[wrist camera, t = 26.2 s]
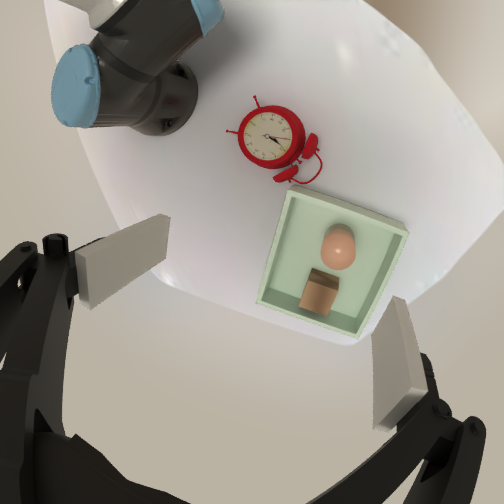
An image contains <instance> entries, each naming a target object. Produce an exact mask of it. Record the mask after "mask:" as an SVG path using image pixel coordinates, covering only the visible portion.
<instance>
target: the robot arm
mask: <svg viewBox="0 0 504 504" xmlns="http://www.w3.org/2000/svg"><path fill="white" fill-rule="evenodd" d="M60 1H62V2H65V3H67V4H69V5H72V6H74V7H76V8H79V9H81V10H83V11H85V12H87V13H88V15H89V21H90V27H91V28H92V29H94V30H96V31H98V32H99V33H98V34H97V35H96V36H95V38H94V39H93V40H92V41H91V42H90V44H89V45H87V44H80V45H75V46H74V47H72V48H70V49H68V50H67V51H66V52H65V54H64V55H63V56H62V58H61V59H60V61H59V63H58V65H57V67H56V70H55V73H54V77H53V81H52V91H51V101H52V107H53V110H54V113H55V115H56V117H57V119H58V120H59V121H60V122H61V123H62V124H64V125H65V126H68V127H81V128H92V127H111V126H129V127H131V128H133V129H135V130H137V131H139V132H141V133H143V134H145V135H150V136H162V135H167V134H170V133H172V132H174V131H176V130H178V129H179V128H180V127H181V126H183V125H184V124H185V122H186V121H187V120H188V119H189V117H190V116H191V114H192V112H193V110H194V107H195V105H196V101H197V94H198V88H197V82H196V78H195V76H194V74H193V73H192V71H191V70H190V69H189V68H188V67H187V66H186V65H184V64H182V63H180V62H177V61H176V60H177V59H178V58H179V57H180V56H181V55H182V54H183V53H184V52H186V51H187V50H188V49H189V48H190V47H191V46H192V45H194V44H195V43H196V42H197V41H198V40H200V39H201V38H204V37H205V36H206V34H207V33H208V32H209V31H210V30H211V29H212V28H214V27H215V26H216V25H217V24H218V23H220V22H221V20H222V19H223V17H224V13H225V12H224V8H223V6H222V4H221V3H220V1H219V0H60ZM170 218H171V217H168V216H166V215H163V214H158V215H156V216H153V217H151V218H148V219H146V220H144V221H141V222H139V223H136V224H134V225H132V226H130V227H127V228H125V229H123V230H120V231H118V232H116V233H114V234H111V235H109V236H107V237H103V238H99V239H97V240H94V241H92V243H91V242H90V243H88V244H87V245H83V246H81V247H79V248H77V249H75V250H73V251H71V252H69V249H68V237H67V236H66V235H64V234H58V233H57V234H50V235H47V236H45V237H44V238H43V239H42V241H43V250H44V255H43V254H40V253H38V250H37V244H36V243H34V242H29V241H27V242H23V243H20V244H18V245H17V246H16V247H15V248H14V249H12V250H11V251H10V252H9V253H8V254H7V255H6V256H5V257H4V258H3V259H2V260H1V261H0V362H1V361H2V359H3V357H4V355H5V353H6V352H7V353H6V357H5V360H4V364H3V368H2V369H1V370H0V504H190V503H188V502H186V501H183V500H181V499H179V498H177V497H175V496H173V495H171V494H169V493H167V492H164V491H160V490H157V489H153V488H150V487H147V486H144V485H140V484H137V483H134V482H132V481H129V480H127V479H126V478H125V477H124V476H123V475H122V474H121V473H120V472H119V471H118V470H117V469H116V468H115V467H114V466H113V465H112V464H111V463H110V462H109V461H108V460H107V459H106V458H105V456H103V454H102V453H101V452H99V451H98V450H97V449H95V448H94V447H92V446H91V445H90V444H88V443H87V442H86V441H85V440H83V439H82V438H81V437H79V436H78V435H77V434H75V435H74V436H73V437H72V438H70V437H67V436H65V431H64V427H63V423H62V396H63V395H62V394H63V380H64V368H65V359H66V349H67V343H68V336H69V329H70V323H71V317H72V311H73V306H74V295H76V294H78V293H79V299H80V303H81V304H82V305H84V306H85V307H87V308H88V309H90V310H91V309H93V308H94V307H96V306H97V305H98V304H100V303H101V302H103V301H104V300H106V299H107V298H108V297H110V296H111V295H113V294H114V293H116V292H117V291H118V290H120V289H121V288H123V287H124V286H126V285H127V284H129V283H130V282H132V281H133V280H134V279H136V278H137V277H139V276H140V275H142V274H143V273H145V272H146V271H148V270H149V269H151V268H152V267H154V266H155V265H157V264H158V263H160V262H161V261H163V260H164V259H166V252H167V242H168V234H169V225H170ZM19 278H20V283H21V285H20V286H19V287H18V285H17V284H18V280H19ZM371 336H372V353H373V385H374V386H373V396H374V397H373V402H374V403H373V429H374V430H378V431H383V432H389V431H390V430H391V429H393V427H395V426H396V425H397V433H396V434H395V435H393V437H392V438H390V439H389V440H388V441H387V442H386V443H384V444H383V445H382V447H381V448H379V449H378V450H377V451H376V452H375V453H374V454H373V455H372V456H371V457H369V458H368V459H367V460H366V461H365V462H363V463H362V464H361V465H360V466H358V467H357V468H356V469H355V470H353V471H352V472H351V473H350V474H348V475H347V476H346V477H344V478H343V479H342V480H340V481H339V482H338V483H336V484H335V485H334V486H332V487H331V488H329V489H328V490H326V491H325V492H323V493H322V494H320V495H319V496H317V497H316V498H314V499H313V500H311V501H309V502H308V503H306V504H382V503H383V502H384V501H385V500H386V499H387V498H388V497H389V496H390V495H391V494H392V493H393V492H394V491H395V490H396V489H397V488H398V487H399V486H400V484H401V483H402V482H403V481H404V480H405V479H406V478H407V477H408V476H409V475H410V473H411V472H412V471H413V470H414V469H415V468H416V466H417V465H418V464H419V463H420V461H421V460H422V459H424V462H423V464H422V466H421V468H420V471H419V473H418V475H417V477H416V479H415V481H414V483H413V485H412V487H411V489H410V491H409V493H408V495H407V497H406V498H405V500H404V502H403V504H470V502H471V499H472V495H473V492H474V488H475V485H476V481H477V478H478V474H479V469H480V465H481V460H482V456H483V450H484V445H485V438H486V428H485V425H484V423H483V422H482V421H481V420H480V419H479V418H477V417H475V416H470V417H468V418H467V419H466V420H465V421H464V422H461V421H459V420H457V419H455V418H453V417H452V411H451V409H450V407H449V405H448V404H447V403H446V402H445V401H443V400H442V399H440V398H439V394H438V390H437V386H436V381H435V379H434V372H433V369H432V365H431V362H430V360H429V359H428V357H427V356H426V354H423V353H420V351H419V347H418V343H417V340H416V336H415V332H414V329H413V325H412V322H411V319H410V315H409V312H408V308H407V305H406V302H405V300H404V299H401V298H398V297H395V296H393V297H392V299H391V301H390V303H389V304H388V306H387V308H386V310H385V312H384V314H383V316H382V317H381V319H380V321H379V323H378V325H377V326H376V328H375V330H374V332H373V333H372V335H371Z"/></svg>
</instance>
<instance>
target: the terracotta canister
mask: <svg viewBox="0 0 504 504" xmlns="http://www.w3.org/2000/svg"><path fill="white" fill-rule="evenodd" d="M355 257H356V248H355V237H354V233H353V231H352V230H351V228H350V227H348V226H347V225H345V224H339V223H338V224H334V225H332V226H330V227H329V228H328V229H327V230H326V232H325V235H324V239H323V243H322V247H321V259H322V261H323V263H324V264H325V265H326V266H327V267H329V268H330V269H333V270H344V269H346V268H348V267H350V266H351V265H352V264H353V262H354V260H355Z"/></svg>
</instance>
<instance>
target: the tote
mask: <svg viewBox="0 0 504 504" xmlns="http://www.w3.org/2000/svg"><path fill="white" fill-rule="evenodd" d="M338 223H339V224H345V225H347V226H348V227H350V228H351V230H352V231H353V233H354V237H355V248H356V257H355V260H354V262H353V264H352V265H351V266H350V267H348V268H346V269H344V270H333V269H330V268H329V267H327V266H326V265H325V264H324V263H323V261H322V259H321V247H322V243H323V239H324V235H325V232H326V230H327V229H328V228H329V227H330V226H332V225H334V224H338ZM408 235H409V232H408V230H407V229H406V228H405V226H404V225H403V224H402V223H400V222H398V221H395V220H393V219H390V218H388V217H385V216H383V215H380V214H378V213H375V212H372V211H370V210H367V209H364V208H362V207H359V206H356V205H353V204H351V203H348V202H345V201H342V200H339V199H336V198H333V197H331V196H328V195H325V194H322V193H319V192H316V191H313V190H309V189H306V188H303V187H300V186H297V185H293V186H292V187H290V188H289V189H288V190H287V194H286V198H285V201H284V205H283V208H282V212H281V216H280V219H279V223H278V226H277V230H276V233H275V237H274V240H273V244H272V247H271V251H270V254H269V258H268V261H267V265H266V268H265V272H264V275H263V279H262V282H261V286H260V289H259V292H258V296H257V299H256V303H257V304H260V305H263V306H265V307H268V308H271V309H273V310H276V311H279V312H281V313H284V314H287V315H290V316H292V317H295V318H298V319H301V320H304V321H306V322H309V323H312V324H315V325H318V326H321V327H323V328H326V329H329V330H332V331H335V332H338V333H341V334H344V335H347V336H350V337H353V338H356V339H359V337H360V335H361V333H362V332H363V330H364V328H365V326H366V324H367V322H368V321H369V319H370V317H371V315H372V313H373V311H374V309H375V307H376V305H377V303H378V302H379V300H380V298H381V296H382V294H383V292H384V289H385V287H386V285H387V283H388V281H389V279H390V277H391V275H392V273H393V270H394V268H395V266H396V264H397V262H398V259H399V257H400V255H401V252H402V250H403V248H404V245H405V243H406V240H407V238H408ZM312 268H315V269H317V270H320V271H323V272H326V273H329V274H332V275H334V276H337V277H339V289H338V293H337V295H336V297H335V300H334V302H333V304H332V306H331V309H330V311H329V313H328V315H327V316H324V315H322V314H319V313H316V312H313V311H310V310H307V309H305V308H302V307H299V303H300V300H301V297H302V294H303V291H304V288H305V285H306V283H307V280H308V277H309V275H310V272H311V269H312Z"/></svg>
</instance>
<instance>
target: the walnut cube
mask: <svg viewBox="0 0 504 504" xmlns="http://www.w3.org/2000/svg"><path fill="white" fill-rule="evenodd" d="M338 289H339V277H337V276H334V275H332V274H329V273H326V272H323V271H320V270H317V269H315V268H312V269H311V272H310V275H309V277H308V280H307V283H306V285H305V288H304V291H303V294H302V297H301V300H300V303H299V307H302V308H305V309H307V310H310V311H313V312H316V313H319V314H322V315H324V316H327V315H328V313H329V311H330V309H331V306H332V304H333V302H334V300H335V297H336V295H337V293H338Z"/></svg>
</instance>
